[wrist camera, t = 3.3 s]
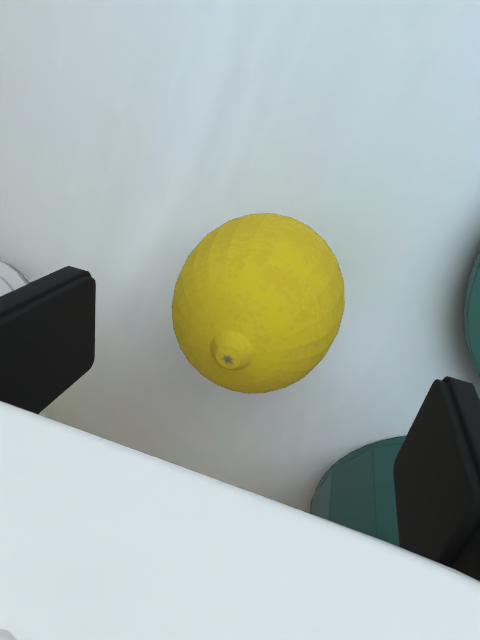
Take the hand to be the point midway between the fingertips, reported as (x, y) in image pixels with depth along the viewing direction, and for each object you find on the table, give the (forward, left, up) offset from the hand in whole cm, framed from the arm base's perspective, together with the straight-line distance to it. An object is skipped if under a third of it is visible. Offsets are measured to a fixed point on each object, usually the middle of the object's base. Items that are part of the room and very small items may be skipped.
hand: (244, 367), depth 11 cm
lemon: (0, 0, -8) cm, 8 cm away
